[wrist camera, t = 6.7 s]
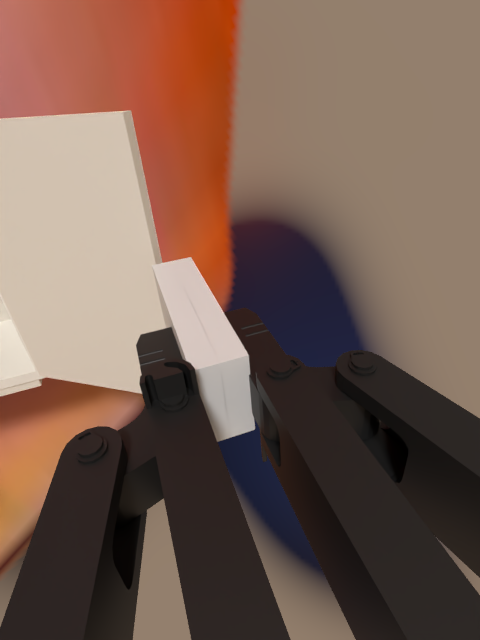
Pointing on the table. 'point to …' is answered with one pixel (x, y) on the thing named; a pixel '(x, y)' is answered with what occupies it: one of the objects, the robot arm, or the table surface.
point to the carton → (14, 357)
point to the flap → (78, 245)
